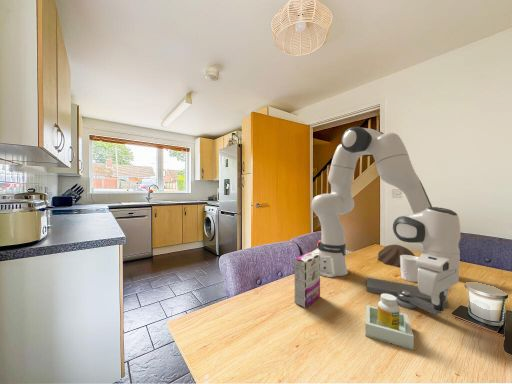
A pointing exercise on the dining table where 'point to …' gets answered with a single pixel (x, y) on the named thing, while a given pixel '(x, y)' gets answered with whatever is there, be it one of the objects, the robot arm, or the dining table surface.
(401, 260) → the white cup
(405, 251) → the decorative dome
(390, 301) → the supplement bottle
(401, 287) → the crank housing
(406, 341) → the tray
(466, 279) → the dining table surface
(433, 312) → the crank
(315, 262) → the candy bar box
